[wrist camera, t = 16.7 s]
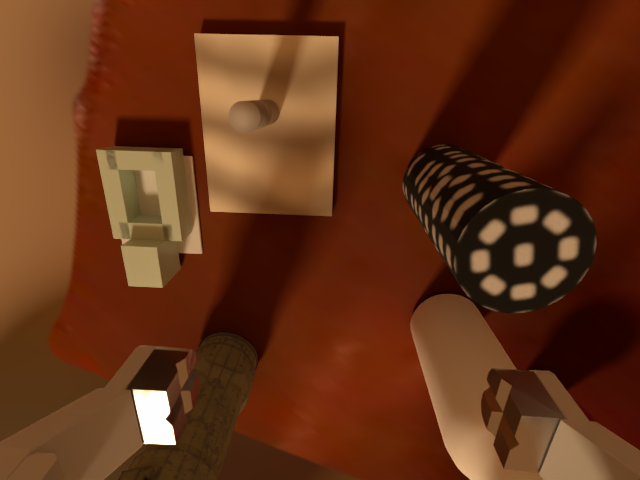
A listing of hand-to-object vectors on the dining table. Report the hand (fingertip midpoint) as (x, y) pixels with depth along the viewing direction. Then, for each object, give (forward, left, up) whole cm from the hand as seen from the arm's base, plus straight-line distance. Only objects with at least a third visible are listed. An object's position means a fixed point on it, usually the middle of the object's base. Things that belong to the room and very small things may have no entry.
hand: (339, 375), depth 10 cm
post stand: (-3, -8, -33) cm, 34 cm away
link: (+6, -22, -33) cm, 40 cm away
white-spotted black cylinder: (+2, +11, -33) cm, 35 cm away
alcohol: (+20, +14, -33) cm, 41 cm away
